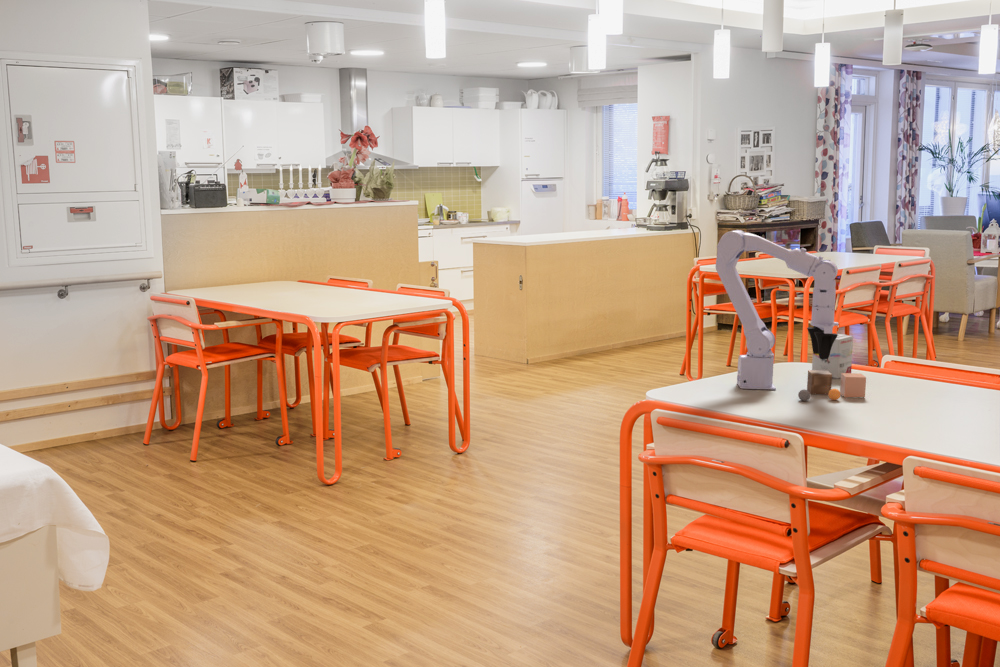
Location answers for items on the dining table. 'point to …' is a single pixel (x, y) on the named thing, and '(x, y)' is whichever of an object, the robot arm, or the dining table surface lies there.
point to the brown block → (819, 382)
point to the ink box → (836, 357)
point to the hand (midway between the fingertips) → (820, 356)
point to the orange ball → (834, 394)
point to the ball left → (804, 395)
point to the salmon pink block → (852, 385)
